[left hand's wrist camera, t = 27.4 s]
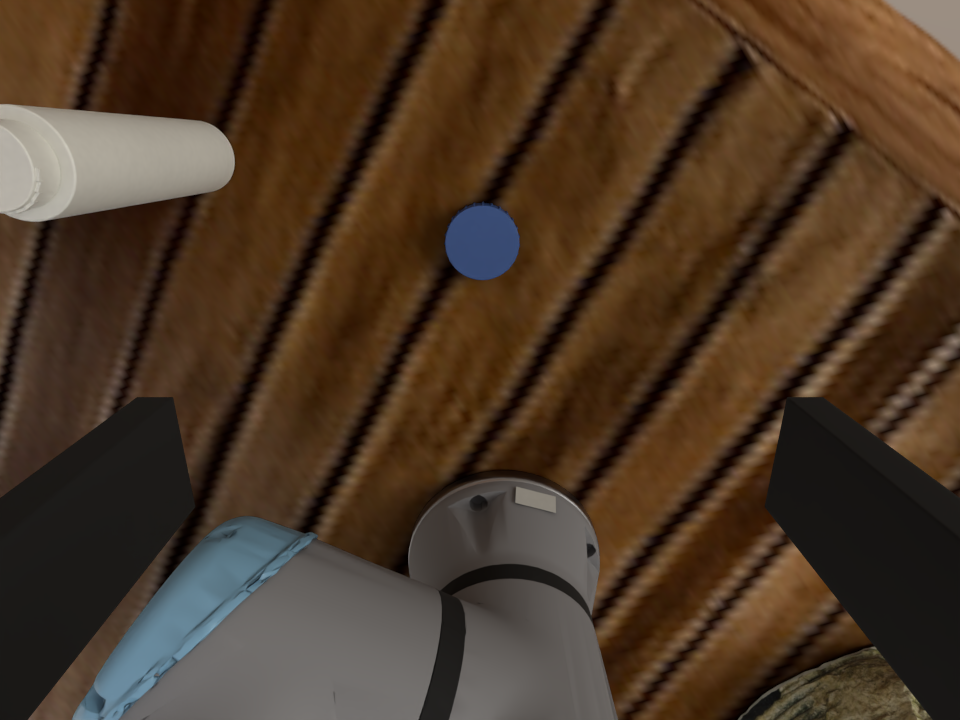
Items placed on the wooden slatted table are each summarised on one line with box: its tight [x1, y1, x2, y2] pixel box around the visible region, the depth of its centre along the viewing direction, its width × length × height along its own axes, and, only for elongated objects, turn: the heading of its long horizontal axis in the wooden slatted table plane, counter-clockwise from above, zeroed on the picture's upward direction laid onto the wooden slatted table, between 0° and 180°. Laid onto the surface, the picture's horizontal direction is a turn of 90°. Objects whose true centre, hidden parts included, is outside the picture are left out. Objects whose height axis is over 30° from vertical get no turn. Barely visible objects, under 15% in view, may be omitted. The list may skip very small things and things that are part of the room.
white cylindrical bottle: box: [0, 104, 235, 222], centre depth 29 cm, size 4×4×17 cm
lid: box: [444, 202, 520, 280], centre depth 38 cm, size 5×5×2 cm
